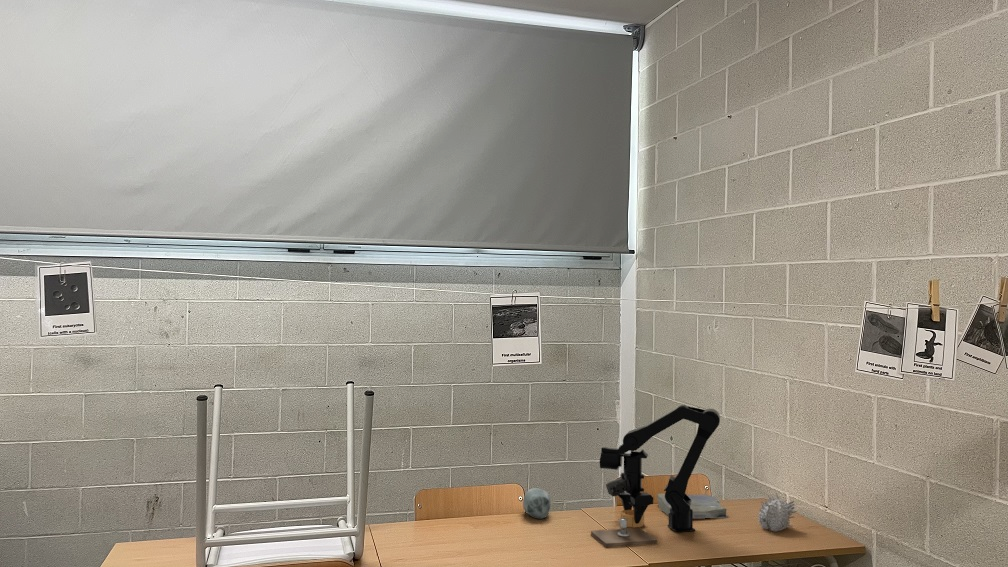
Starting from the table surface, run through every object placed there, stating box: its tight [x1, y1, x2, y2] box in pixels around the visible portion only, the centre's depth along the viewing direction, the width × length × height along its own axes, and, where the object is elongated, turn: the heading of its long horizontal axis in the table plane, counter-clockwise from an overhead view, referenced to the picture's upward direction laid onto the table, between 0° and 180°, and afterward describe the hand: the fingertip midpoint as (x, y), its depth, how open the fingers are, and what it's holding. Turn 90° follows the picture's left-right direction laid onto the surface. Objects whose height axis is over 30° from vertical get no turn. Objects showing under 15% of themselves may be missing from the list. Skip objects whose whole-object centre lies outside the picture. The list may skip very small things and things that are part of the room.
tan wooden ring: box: [619, 509, 645, 528], centre depth 237 cm, size 7×7×4 cm
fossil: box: [656, 492, 728, 520], centre depth 253 cm, size 22×5×19 cm
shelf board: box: [590, 527, 658, 549], centre depth 221 cm, size 16×12×1 cm
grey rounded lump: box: [522, 487, 551, 520], centre depth 246 cm, size 14×10×10 cm
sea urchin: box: [756, 492, 798, 532], centre depth 234 cm, size 12×11×12 cm
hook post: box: [617, 518, 630, 537], centre depth 221 cm, size 4×4×5 cm
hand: (632, 520), depth 237 cm, fingers closed on tan wooden ring, 7 cm apart
